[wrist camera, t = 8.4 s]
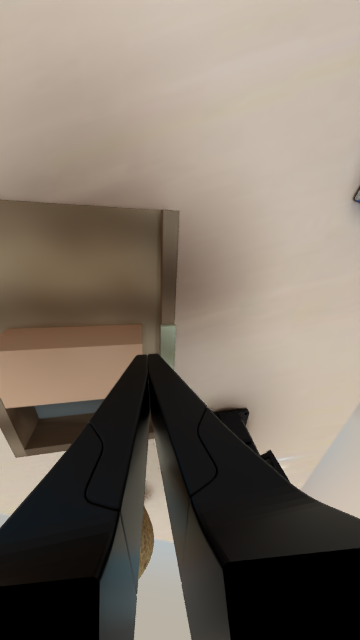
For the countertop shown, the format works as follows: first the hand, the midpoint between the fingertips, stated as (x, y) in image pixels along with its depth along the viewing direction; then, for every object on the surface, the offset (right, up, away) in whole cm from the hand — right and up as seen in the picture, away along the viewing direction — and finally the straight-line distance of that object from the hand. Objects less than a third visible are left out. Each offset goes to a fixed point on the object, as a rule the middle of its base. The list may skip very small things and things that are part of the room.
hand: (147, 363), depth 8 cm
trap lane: (-7, 0, +12) cm, 14 cm away
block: (-7, -1, +10) cm, 12 cm away
